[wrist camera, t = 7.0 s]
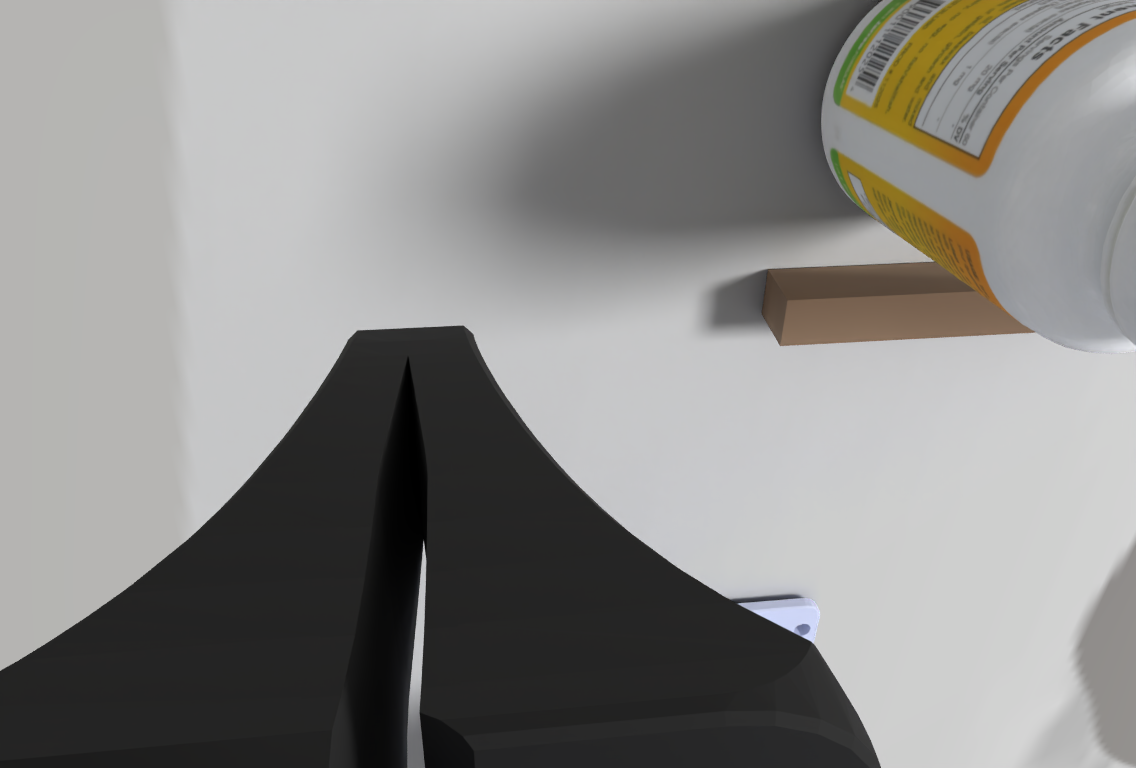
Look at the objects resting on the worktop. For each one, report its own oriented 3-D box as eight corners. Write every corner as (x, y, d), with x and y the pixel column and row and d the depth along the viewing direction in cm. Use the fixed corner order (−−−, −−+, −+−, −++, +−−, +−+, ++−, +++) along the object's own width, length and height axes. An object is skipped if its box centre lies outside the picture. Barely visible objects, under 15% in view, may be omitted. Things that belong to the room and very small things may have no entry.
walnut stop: (1083, 297, 25) (1118, 327, 24) (761, 313, 24) (780, 346, 23) (1248, -173, 19) (1305, -165, 18) (833, -177, 18) (863, -169, 17)
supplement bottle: (1029, 203, 23) (1418, 411, 14) (808, 234, 22) (1082, 470, 14) (1070, -49, 20) (1576, 24, 12) (820, -24, 20) (1169, 74, 11)
